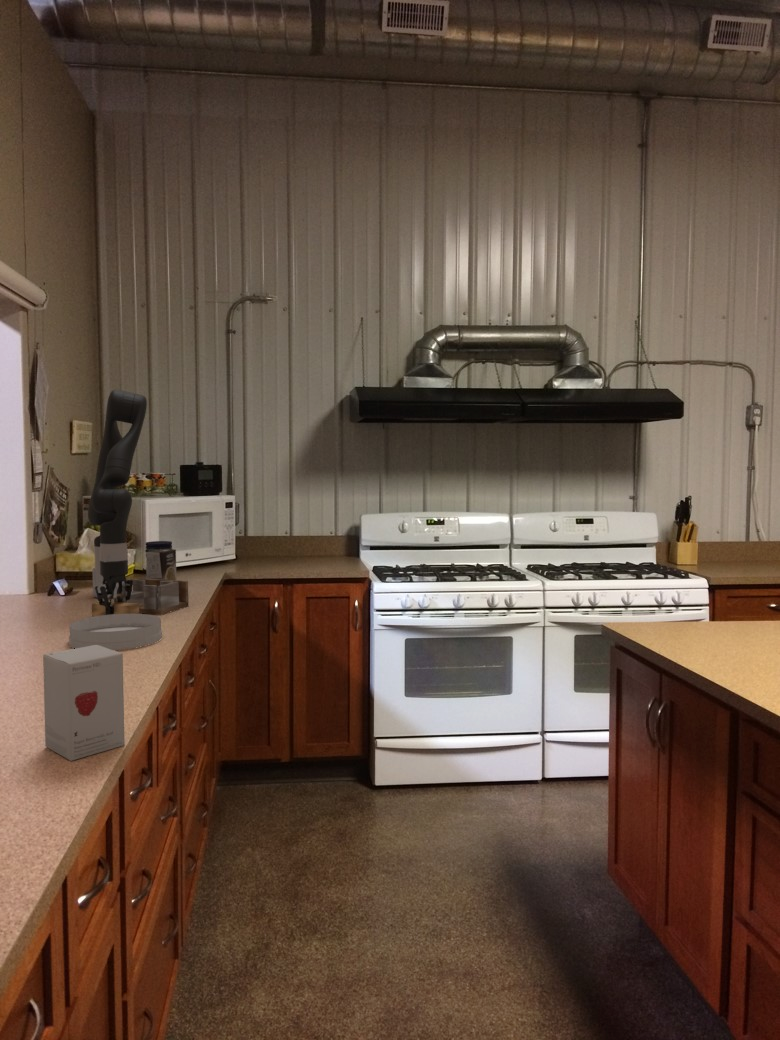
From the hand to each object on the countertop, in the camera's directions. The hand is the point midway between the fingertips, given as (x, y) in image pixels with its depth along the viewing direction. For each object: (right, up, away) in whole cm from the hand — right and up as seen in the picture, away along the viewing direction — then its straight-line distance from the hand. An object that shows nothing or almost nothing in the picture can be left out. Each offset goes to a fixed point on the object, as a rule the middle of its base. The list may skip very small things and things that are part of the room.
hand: (115, 617), depth 213 cm
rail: (0, 0, 0) cm, 0 cm away
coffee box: (+3, +2, +33) cm, 33 cm away
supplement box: (+31, -8, -97) cm, 102 cm away
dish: (+10, -3, -26) cm, 28 cm away
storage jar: (-9, +4, +69) cm, 70 cm away
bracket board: (+5, +1, +15) cm, 16 cm away
